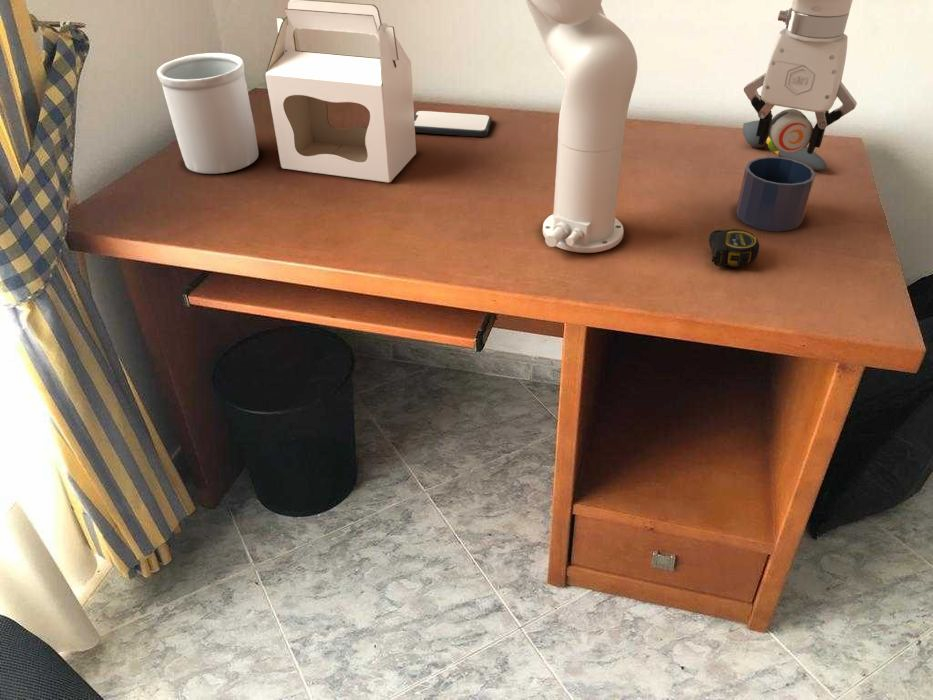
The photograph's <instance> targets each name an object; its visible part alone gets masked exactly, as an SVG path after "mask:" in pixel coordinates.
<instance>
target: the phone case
mask: <svg viewBox="0 0 933 700" xmlns="http://www.w3.org/2000/svg"><path fill="white" fill-rule="evenodd" d="M492 118H493V117H492V116H491V115H488V114H477V113H476V114H475V113H461V112H449V111H448V112H445V111H431V110H417V111H414V123H415V133H416V134H417V133H419V134H432V135H444V136H445V135H447V136H459V137H475V138H484V137H487V136H488V135H489V134H488V133H489V132H490V128H491V125H492V120H493V119H492Z"/></svg>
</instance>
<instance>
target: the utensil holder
mask: <svg viewBox="0 0 933 700" xmlns="http://www.w3.org/2000/svg"><path fill="white" fill-rule="evenodd" d="M156 76H157V79H158V81H159V83H160V84H161V87H162V91H163V95H164V98H165V101H166V106H167V108H168V112H169V116H170V119H171V122H172V127H173V130H174V134H175V137H176V141H177V144H178V147H179V149H180V154H181V157H182V159H183V162H184V165H185V167H186V169H188V170H189V171H191V172H194V173H197V174H204V175H206V174H207V175H220V174H227V173H231V172H236V171H238V170H242V169H244V168H246V167H248V166H250V165H252V164H253V163H255V162H256V160H257V159H258V158H259V146H258V140H257V134H256V128H255V127H256V126H255V122H254V117H253V112H252V108H251V102H250V96H249V91H248V85H247V81H246V77H245V76H246V75H245V63H244V60H243V59H242V58H241V57H240V56H238V55H235V54H232V53H225V52H206V53H196V54H190V55H186V56H182V57H179V58H176V59H172V60H170V61H167V62H165V63H163V64H162V65H160V66H159V67H158V68H157V70H156Z"/></svg>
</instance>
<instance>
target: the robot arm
mask: <svg viewBox="0 0 933 700" xmlns="http://www.w3.org/2000/svg"><path fill="white" fill-rule="evenodd" d="M602 2H603V0H525V3H526V5H527V7H528V11H529V12H530V14H531V17H532V19H533V22H534V24H535V26H536V28H537V31H538V33H539V35H540V37H541V40H542V42H543V44H544V48H545V49H546V51H547V53H548V56H549V57H550V59H551V62H552V63H553V64H554V65H555V67H556V68H557V70H558V71H559V72H560V74H561V75H562V76H563V78H564V84H565V85H564V93H563V97H562V101H561V105H560V111H559V116H558V118H559V120H558V127H557V147H556V150H557V151H556V165H555V182H554V197H553V198H554V199H553V212H552V214H551V215H549V216H547V218H546V219H545V220H544V221H543V223H542V235H543V237H544V242H545V244H546V245H547V247H550V248H554V247H556V248H559V249H561V250H563V251H568V252H572V253H578V254H592V253H593V254H594V253H599V252H600V253H601V252H604V251H607V250H610V249H612V248H613V249H614V248H615V247H616V246H617V245H619V244H620V243H621V242H622V240H623V238H624V231H625V229H624V225H623V224H622V222H621V221H620V220H619V219H618V218H616V213H617V204H618V195H619V186H620V178H621V171H622V170H621V169H622V160H623V159H622V158H623V153H624V141H625V132H626V126H627V118H628V112H629V107H630V102H631V98H632V96H633V91H634V88H635V84H636V80H637V75H638V57H637V52H636V49H635V47H634V45H633V42H632V41H631V39H630V37H628V35H627V34H626V33H625V32H624V31H623V30H622V29H621V28H620V27H619V26H618V25H617V24H615V22H613V21H611V20H610V19H609V18H608V17H607V15H606V13H605V11H604V8H603V6H602ZM852 4H853V0H792V3H791V8H789V9H786V10H779V13H778V16H777V21H779V22H783V23H785V24H784V25H785V28H783V29H782V30H780V31H779V33H778V35H777V38H776V40H775V42H774V46H773V48H772V51H771V54H770V57H769V60H768V64H767V68H766V72H764V73H763V74H762V75H760V76H758V77H757V78H755V79H754V80H752V81H751V82H749V83H747V84H746V85H745V86H744V87H743V92H744V94H745V96H746V97H747V99H748V100H749V101H750V105H751V107H752V108H753V109H754V110H755V112H756V113H757V116H758V118H759V125H758V129H757V134H756V136H758V137H760V138H759V142H758V144H760V145H762V144H764V142H765V141H766V140H767V138H768V127H769V124H770V122H771V120H772V119H773V118H774V114H773V112H772V109H773V108H774V107H775V106H777V107H781V108H788V109H796V110H799V111H806V112H813V113H814V114H815V118H816V123H815V125H814V126H813V131H812V135H811V139H810V142H809V144H808V145H807V147H808V150H807V152H808V154H812V153H813V151H814V152H815V149H816V148H820V147H821V145H822V142H823V138H824V136H825V135H824V134H825V132H826V128H827V127H828V126H830V125H832V124H833V123H835V122H838V121H839V120H840V119H841V118H842V117H844V116H845V115H847V114H848V113H850V112H852V111H853V110H855V109H856V107H857V105H858V102H857V100H856V99H855V98H854V96H853V95H852V94H851V93H850V91H849V90H848V88H847V87H846V86H845V85H844V83H843V82H842V80H843V76H844V70H845V65H846V60H847V50H848V35H847V34H846V33H845V30H846V26H847V23H848V20H849V16H850V12H851V8H852ZM760 88H761V91H760V93H759V92H758V89H760ZM837 99H838V100H839V101H840V102H841V104H842V105H840V106H839V107H837V108H836V109H833V110H832V111H831V112H830V110H831V108H832V107H833V106H834V104H835V102H836V100H837Z"/></svg>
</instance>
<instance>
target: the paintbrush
mask: <svg viewBox="0 0 933 700" xmlns="http://www.w3.org/2000/svg"><path fill="white" fill-rule="evenodd" d="M759 120H760V119H759ZM759 120H751V121H749V122H743V126H742V134H743V137H744V139H745V141H746V143H747V144H748V145H749V146H750V147H752V148H757V149H759V148H764V147H767V146H768V143H769V141H770V138H769V135H768V138H767V140H766V141H765V142H764V144H762V145H760V144H758V142H759V138H760V137H758V136H756V134H757V129H758V125H759ZM807 150H808V146H806V147H805V148H803V149H802V150H800V151H798V152H795V153H783V152H781V151H780V150H779V151H776V152H774V153H775V154H776V155H777V157H782V158H788V159H793V160H796V161H799V162H801V163H804V164H806V165H807V166H809V167H810V168H812V169H813V171H825V170H827V168H828V166H827V163H826V162H825V160H824V159H823V158H822V157H821V156H820V155H819V154H818V153H816V151H815V150H814V151H813V153H812V154H808V152H807Z"/></svg>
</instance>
